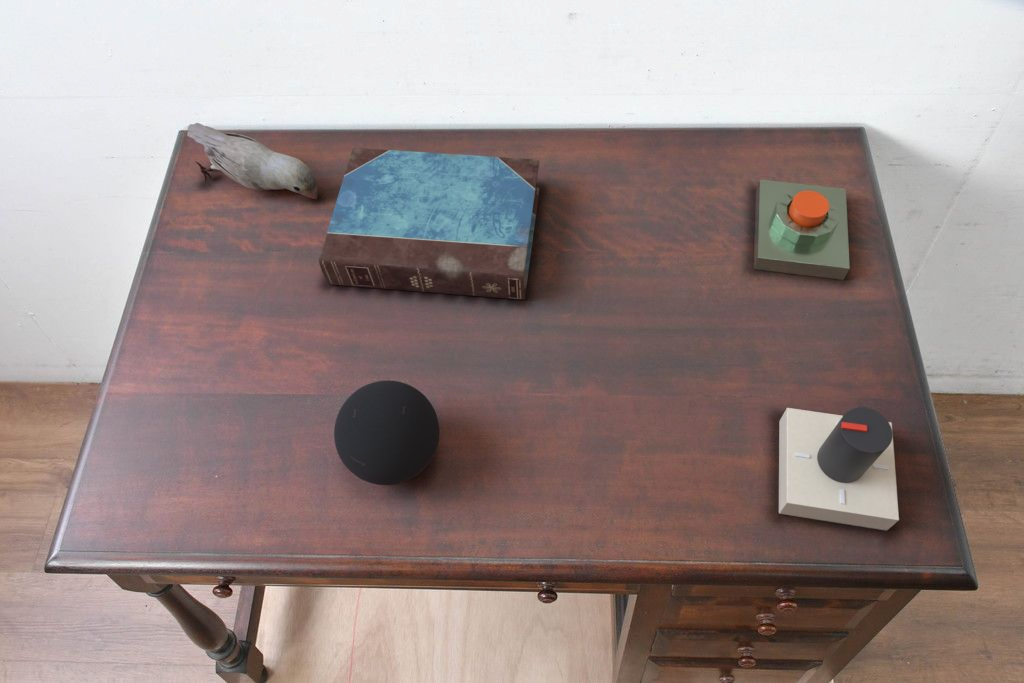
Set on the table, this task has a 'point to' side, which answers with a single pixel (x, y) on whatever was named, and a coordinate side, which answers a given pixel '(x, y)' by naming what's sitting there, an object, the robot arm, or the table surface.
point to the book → (433, 223)
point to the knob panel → (819, 494)
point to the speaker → (386, 432)
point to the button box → (800, 233)
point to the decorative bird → (252, 162)
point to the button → (808, 208)
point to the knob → (854, 444)
